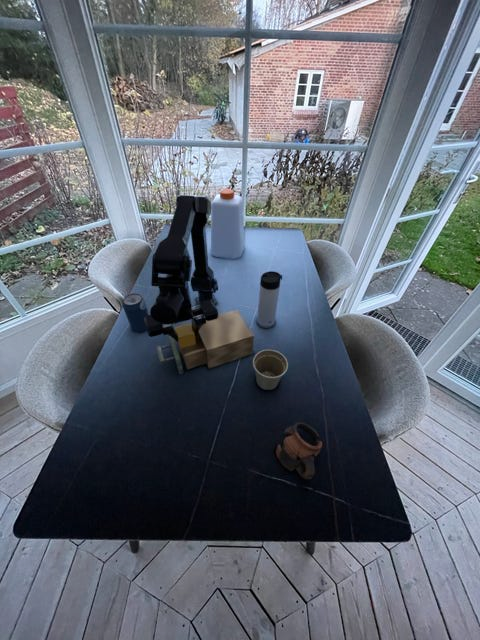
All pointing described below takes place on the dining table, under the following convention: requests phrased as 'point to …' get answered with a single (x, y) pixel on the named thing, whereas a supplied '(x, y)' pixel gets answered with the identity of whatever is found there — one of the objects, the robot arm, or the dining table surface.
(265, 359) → the flower pot
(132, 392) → the dining table surface
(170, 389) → the dining table surface
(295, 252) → the dining table surface
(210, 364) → the cabinet
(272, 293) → the travel mug
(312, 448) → the pottery mug
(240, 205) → the plastic bottle
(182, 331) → the block
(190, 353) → the drawer
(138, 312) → the soda can
